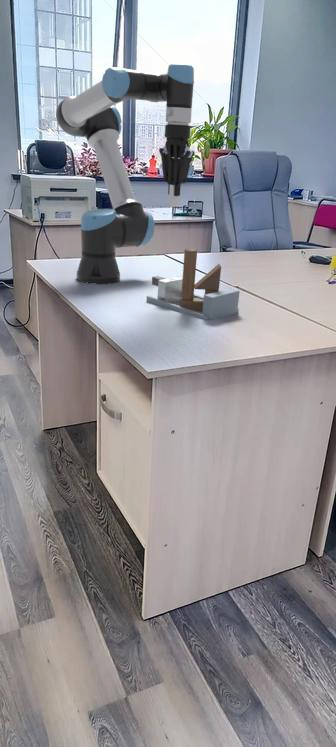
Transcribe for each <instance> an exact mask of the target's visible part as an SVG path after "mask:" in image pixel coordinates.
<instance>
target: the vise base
mask: <svg viewBox="0 0 336 747" xmlns="http://www.w3.org/2000/svg"><path fill="white" fill-rule="evenodd" d="M240 293H241V292H240V290H239V289H235V288H227V289H224V290H219V292H214V293H210V294H206V295H205V294H203V296H201V295H198V294H196V293H194V298H199V299H203V300H204V301H203V311H201V312H202V313H200V312H199V311H192V310H189V309H186V308H184V307H181V306H180V305H177V304H176V303H169V302H166V301H164V300H161V299H158V297H154V296H153V295H147V296H146V302H147V303H150V304H154V305H157V306H160V307H163V308H167V309H170V310H172V311H176V312H178V313H183V314H185V315H189V316H192V317H196V318H199V319H203V320H206V321H212V320H215V319H218V318H219V319H220V318H223V317H228V316H231V315H236V314H237V313H239V310H240V309H239V302H240V301H239V298H240Z"/></svg>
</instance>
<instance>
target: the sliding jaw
mask: <svg viewBox="0 0 336 747" xmlns="http://www.w3.org/2000/svg"><path fill="white" fill-rule="evenodd" d="M151 278H152V279H151V285H152V286H156V287H157V298H158V299H161V300H164V301H166V302H169V303H172V304H176V303H180V298H181V294H182V280H183V275H179V276H174V277H173V276H172V277H168V278H166V277H163V276H160V275H155V276H152V277H151Z"/></svg>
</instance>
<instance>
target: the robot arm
mask: <svg viewBox="0 0 336 747" xmlns="http://www.w3.org/2000/svg"><path fill="white" fill-rule="evenodd" d="M194 79H195V69H194V67H193V65H192V64H186V63H171V64H169V65H168V68H167V72H165V73H164V72H163V73H161V72H160V73H159V72H158V73H157V72H150V71H142V70H135V69H128V68H123V67H108V68H107V69H105V71H104V74H102V80H101V81H99V82H97V83H96V84H94V85H92V86H91V87H89V88H87V89H86V90H83V91H82V92H81V93H79V94H78V95H74V96H73V95H71V96H67V97H66V98H64V99H63V100H62V101H60V102H59V104H58V105H57V107H56V110H55V111H56V112H55V117H56V121H57V124H58V126H59V128H61V129H60V130H62V131H64V132H65V134H68V135H70V136H73V137H79V138H80V137H82V138H86V141H87V144H88V146H89V147H90V148H92V149H94V151H95V155H96V156H95V157H96V158H97V161H98V162H97V163H98V164H99V165H98V166H99V168H100V171H101V174H102V178H103V180H104V184H105V186H106V190H107V193H108V196H109V199H110V203H111V206H112V208H96V209H91V210H88V211H85V212H84V213H83V214H82V216H81V220H80V221H81V222H80V232H81V235H80V237H81V257H80V260H79V264H78V268H77V270H76V280H77V279H78V280H77V281H79V280H80V281H79V282H81V281H84V282H88V283H87V284H90V283H96V284H95V285H110V284H109V283H111V284H114V283H115V282H116V283H118V282H120V280H121V272H120V269H119V266H118V263H117V259H116V249H118V248H119V249H120V248H129V247H130V248H131V247H136V248H137V247H141V246H146V245H148V244H149V243H150V242H151V240H153V237H154V233H155V226H156V225H155V224H156V223H155V219H154V217H153V214H152V213H151V212H149V211H144V207H143V204H142V203H141V202H140V201H138V200H137V199H136V197H135V194H134V190H133V187H132V184H131V181H130V178H129V175H128V172H127V169H126V165H125V162H124V159H123V156H122V153H121V149H120V147H119V144H118V141H119V139H120V134H121V132H122V126H123V125H122V118H121V114H120V112H119V110H118V108H117V107H116V106H115V105H117V104H119V103H122V102H124V101H125V100H126V101H127V100H137V101H138V100H140V101H148V102H152V103H159V102H160V103H163V102H164V103H165V102H166V104H165V106H166V107H165V110H166V111H165V122H166V123H167V124H165V126H164V137H165V138H166V141H165V142H164V144H165V146H163V147H160V148H159V149H158V151H159V155H160V158H161V166H162V168H161V169H162V177H163V181H164V182H166V183H167V184H168V187H167V188H168V192H167V193H168V208H178V207H179V197H180V196H181V186H182V185H183V184H186V183H187V180H188V175H189V171H190V167H191V163H192V159H193V157H194V155H195V153H196V152H195V150H191V149H190V147H189V139H190V138H191V125H190V124H191V123H192V113H193V112H192V111H193V109H192V107H193V98H194V97H193V96H194V84H195V80H194ZM84 282H83V283H84Z"/></svg>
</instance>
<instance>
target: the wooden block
mask: <svg viewBox="0 0 336 747" xmlns="http://www.w3.org/2000/svg"><path fill="white" fill-rule="evenodd" d="M183 253H184V254H183V265H182V267H183V268H182V269H183V270H182V276H183V280H182V294H181V298H180V302H179V306H181V307H184V308H186V309H189V310H192V311H195V312H203V301H204V300H203V299H199V298H194V294H195V290H202V291H204V295H206V294H210V293H214V292H219V291H220V282H221V272H222V266H221V264H220V263H217V265H216V266H214V267H213V268H212V269H211V270H210V271H208V272H207V273H206V274H205V275H204V276H202V277H201V279H199V280H198V281H197V282H196V273H197V272H196V271H197V269H196V268H197V259H198V250H197V249H196V248H195V249H194V248H186V249H184V252H183ZM195 282H196V283H195Z"/></svg>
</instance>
